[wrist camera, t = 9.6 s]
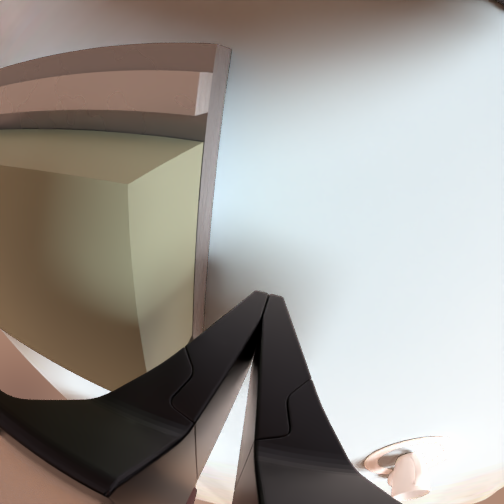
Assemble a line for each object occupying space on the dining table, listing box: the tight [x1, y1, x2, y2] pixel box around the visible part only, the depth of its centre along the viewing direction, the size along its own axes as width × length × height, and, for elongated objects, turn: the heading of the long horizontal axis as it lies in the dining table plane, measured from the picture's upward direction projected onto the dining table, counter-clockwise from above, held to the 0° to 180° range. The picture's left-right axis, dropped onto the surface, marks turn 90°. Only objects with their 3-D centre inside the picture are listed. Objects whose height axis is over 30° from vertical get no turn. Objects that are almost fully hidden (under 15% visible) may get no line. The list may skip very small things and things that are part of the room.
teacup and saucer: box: [364, 436, 456, 501], centre depth 17 cm, size 9×8×4 cm
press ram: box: [0, 129, 204, 391], centre depth 10 cm, size 12×8×4 cm, turn 82°
